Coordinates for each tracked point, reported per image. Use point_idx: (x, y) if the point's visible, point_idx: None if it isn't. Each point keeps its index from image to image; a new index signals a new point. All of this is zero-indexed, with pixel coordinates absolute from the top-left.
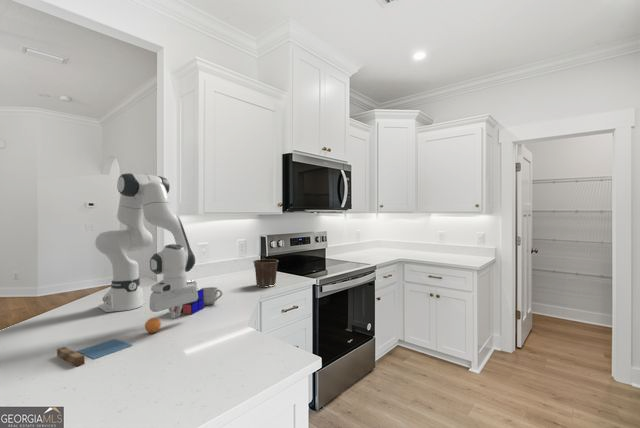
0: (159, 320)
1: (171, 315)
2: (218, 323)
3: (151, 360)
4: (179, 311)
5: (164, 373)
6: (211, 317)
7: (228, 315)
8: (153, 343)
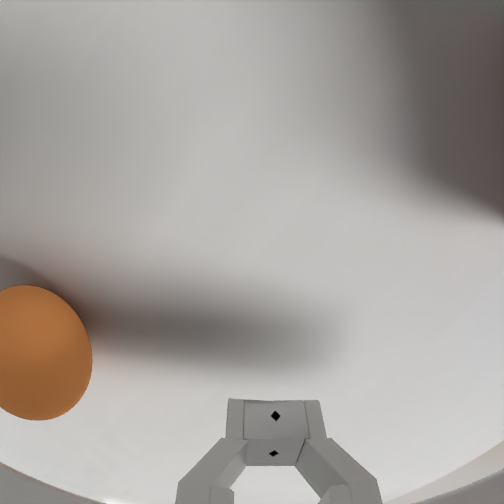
0: (65, 407)
1: (227, 417)
2: (374, 473)
3: (24, 462)
4: (306, 472)
5: None
6: (470, 396)
7: (489, 421)
8: None
